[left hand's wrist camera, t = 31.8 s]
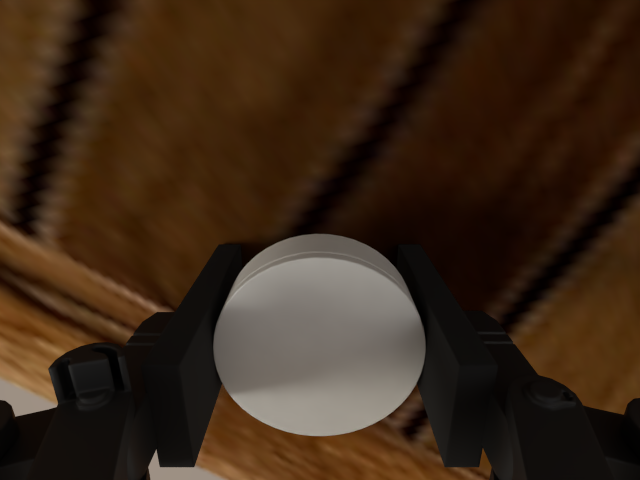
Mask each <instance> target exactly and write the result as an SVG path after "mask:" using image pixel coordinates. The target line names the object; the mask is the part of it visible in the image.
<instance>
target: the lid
mask: <svg viewBox="0 0 640 480" xmlns="http://www.w3.org/2000/svg"><path fill="white" fill-rule="evenodd" d="M213 353H214V361H215V365H216V369H217V372H218V374H219V377H220V379H221V382H222V383H223V385H224V387H225V388H226V390H227V392H228V393H229V394H230V395H231V397H232V398H233V399H234V400H235V401H236V402H237V403H238V404H239V405H240V406H241V407H242V408H243V409H244V410H245V411H246V412H248V413H249V414H250V415H252V416H253V417H255V418H256V419H258V420H260V421H261V422H263V423H265V424H268V425H270V426H272V427H274V428H277V429H280V430H283V431H286V432H290V433H295V434H300V435H309V436H330V435H339V434H344V433H349V432H353V431H356V430H359V429H362V428H365V427H367V426H370V425H372V424H374V423H376V422H378V421H379V420H381V419H383V418H384V417H386V416H387V415H389V414H390V413H392V412H393V411H394V410H395V409H396V408H397V407H398V406H400V405H401V404H402V403H403V402H404V400H405V399H406V398H407V397H408V396H409V395H410V393H411V391H412V390H413V388H414V387H415V385H416V383H417V381H418V379H419V377H420V375H421V372H422V369H423V365H424V361H425V354H426V338H425V332H424V327H423V324H422V321H421V318H420V315H419V313H418V311H417V309H416V306H415V304H414V302H413V299H412V297H411V295H410V292H409V290H408V288H407V286H406V284H405V282H404V280H403V278H402V276H401V275H400V273H399V272H398V271H397V269H396V268H395V267H394V266H393V265H392V264H391V263H390V261H389V260H388V259H387V258H385V257H384V256H383V255H381V254H380V253H379V252H378V251H376V250H374V249H373V248H371V247H369V246H368V245H366V244H363V243H361V242H359V241H356V240H354V239H350V238H346V237H343V236H337V235H330V234H310V235H301V236H297V237H292V238H289V239H286V240H283V241H280V242H278V243H276V244H274V245H272V246H270V247H268V248H266V249H265V250H263V251H262V252H260V253H259V254H257V255H256V256H255V257H254V258H253V259H252V260H251V261H250V262H248V263H247V265H246V266H245V267H244V268H243V269H242V271H241V272H240V273H239V275H238V277H237V278H236V280H235V282H234V284H233V286H232V288H231V291H230V293H229V295H228V297H227V300H226V302H225V304H224V306H223V309H222V311H221V313H220V316H219V318H218V321H217V323H216V327H215V332H214V339H213Z"/></svg>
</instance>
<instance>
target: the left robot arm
mask: <svg viewBox="0 0 640 480" xmlns="http://www.w3.org/2000/svg"><path fill="white" fill-rule="evenodd" d="M241 271H242V257H241V245H218V247H217V248H216V250H215V251H214V253H213V255H212V256H211V258H210V259H209V261H208V262H207V264H206V265H205V267H204V268H203V270H202V272H201V273H200V275H199V276H198V278H197V279H196V281H195V282H194V284H193V285H192V287H191V289H190V290H189V292H188V293H187V295H186V296H185V298H184V299H183V301H182V302H181V304H180V306H179V307H178V309H177V310H176V312H157V313H155V314H154V315H152V316H151V317H149V318H148V319H146V320H145V321H143V322H142V323H141V325H140V326H139V327H138V329H137V330H136V331H135V332H134V335H133V336H131V338H130V339H129V340H128V342H127V343H126V346H124V347H123V348H121V347H120V346H119V345H118V344H113V343H109V342H104V343H93V344H88V345H84V346H80V347H78V348H76V349H73V350H71V351H69V352H67V353H65V354H64V355H62V356H61V357H59V358H58V359H56V360H55V361H54V363H53V364H52V365H51V366H50V367H49V373H50V376H51V380H52V383H53V387H54V390H55V393H56V397H57V400H58V406H57V407H56V408H52V409H49V410H44V411H40V412H35V413H31V414H26V415H22V416H17V417H15V415H14V412H13V409H12V406H11V405H10V404H8V403H7V402H6V401H2V400H0V480H150V474H149V469H148V466H149V464H150V462H151V459H152V457H153V455H154V453H155V451H156V449H157V454H158V459H159V465H160V467H194V466H195V463H196V460H197V457H198V454H199V451H200V448H201V445H202V442H203V439H204V436H205V433H206V430H207V427H208V424H209V421H210V418H211V415H212V412H213V409H214V406H215V403H216V400H217V397H218V394H219V391H220V388H221V385H222V382H221V379H220V377H219V374H218V372H217V369H216V365H215V361H214V353H213V339H214V332H215V327H216V323H217V321H218V318H219V316H220V313H221V311H222V309H223V306H224V304H225V302H226V300H227V297H228V295H229V293H230V291H231V288H232V286H233V284H234V282H235V280H236V278H237V277H238V275H239V273H240V272H241ZM397 271H398V272H399V273H400V275H401V276H402V278H403V280H404V282H405V284H406V286H407V288H408V290H409V292H410V295H411V297H412V299H413V302H414V304H415V306H416V309H417V311H418V313H419V315H420V318H421V321H422V324H423V327H424V332H425V338H426V354H425V361H424V365H423V369H422V372H421V375H420V377H419V379H418V381H417V385H418V388H419V391H420V394H421V397H422V400H423V403H424V406H425V409H426V412H427V415H428V418H429V421H430V424H431V427H432V430H433V433H434V436H435V439H436V442H437V445H438V448H439V451H440V454H441V457H442V460H443V463H444V466H445V467H479V464H480V459H481V454H482V449H484V451H485V453H486V455H487V458H488V460H489V462H490V464H491V466H492V469H491V474H490V479H489V480H640V398H637V399H633V400H632V401H631V402H629V403H628V405H627V408H626V410H625V413H624V415H622V414H617V413H613V412H608V411H603V410H599V409H594V408H590V407H586V406H583V405H582V403H581V401H580V400H579V398H578V397H577V396H576V394H575V393H574V392H572V391H571V390H570V389H569V388H567V387H566V386H565V385H563V384H561V383H559V382H557V381H555V380H553V379H550V378H547V377H543V376H539V375H538V374H537V373H536V371H535V370H534V369H533V368H532V366H531V365H530V364H529V362H528V361H527V360H526V358H525V357H524V356H523V354H522V353H521V352H520V350H519V349H518V348H517V347H516V345H515V344H513V341H512V340H511V339H510V337H509V336H508V335H506V332H505V331H504V330H503V328H502V327H501V326H500V324H499V323H498V322H497V321H496V320H495V319H493V318H492V317H490V316H489V315H487V314H486V313H484V312H483V311H463V310H462V309H461V307H460V306H459V304H458V303H457V301H456V299H455V298H454V296H453V295H452V293H451V292H450V290H449V289H448V287H447V286H446V284H445V282H444V281H443V279H442V278H441V276H440V275H439V273H438V272H437V270H436V268H435V267H434V265H433V264H432V262H431V261H430V259H429V258H428V256H427V255H426V253H425V251H424V250H423V248H422V247H421V245H420V244H418V245H398V256H397Z"/></svg>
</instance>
